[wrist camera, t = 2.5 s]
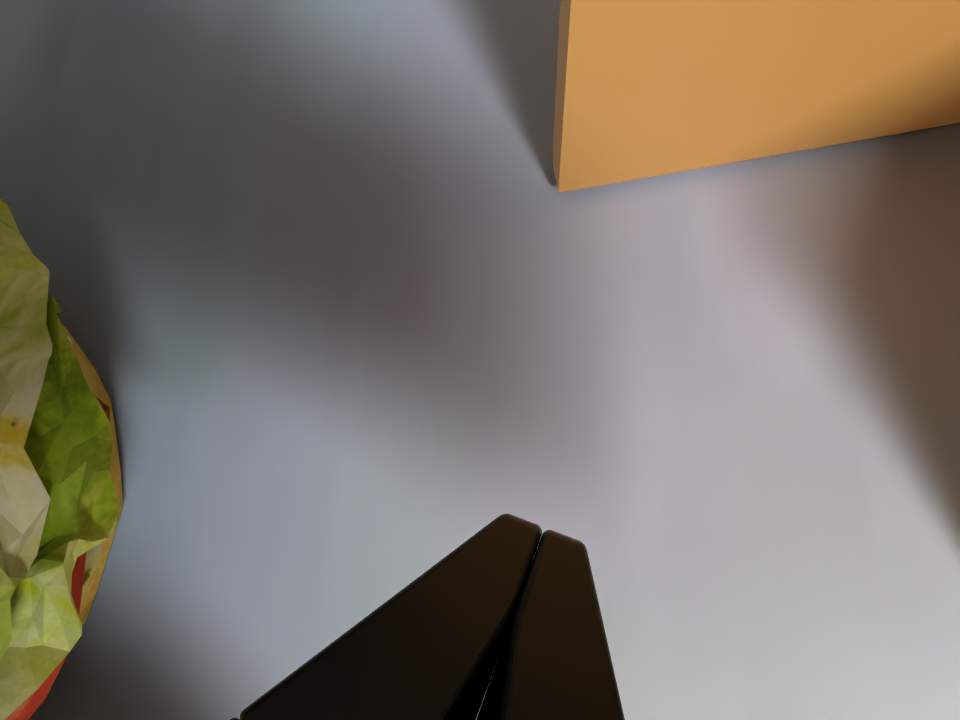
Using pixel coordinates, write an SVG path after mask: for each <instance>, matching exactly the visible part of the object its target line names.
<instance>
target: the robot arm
mask: <svg viewBox="0 0 960 720" xmlns="http://www.w3.org/2000/svg"><path fill="white" fill-rule="evenodd" d="M541 535H542V530H541V528H540V526H538V525H537V524H534V523H531V522H529V521H526V520H523V519H521V518H518V517H516V516H513V515H510V514H503V515H501V516H499V517H498V518H496V519H495V520H494V521H492V522H491V523H490V524H488V525H487V526H486V527H484V528H483V529H482V530H480V531H479V532H478V533H476V534H475V535H474V536H472V537H471V538H470V539H468V540H467V541H466V542H464V543H463V544H462V545H461V546H459V547H458V548H457V549H455V550H454V551H453V552H451V553H450V554H449V555H447V556H446V557H445V558H443V559H442V560H441V561H439V562H438V563H437V564H435V565H434V566H433V567H431V568H430V569H429V570H428V571H426V572H425V573H424V574H422V575H421V576H420V577H418V578H417V579H416V580H414V581H413V582H412V583H410V584H409V585H408V586H406V587H405V588H404V589H402V590H401V591H400V592H398V593H397V594H396V595H395V596H393V597H392V598H391V599H389V600H388V601H387V602H385V603H384V604H383V605H381V606H380V607H379V608H377V609H376V610H375V611H373V612H372V613H371V614H369V615H368V616H367V617H365V618H364V619H363V620H362V621H360V622H359V623H358V624H356V625H355V626H354V627H352V628H351V629H350V630H348V631H347V632H346V633H344V634H343V635H342V636H340V637H339V638H338V639H336V640H335V641H334V642H332V643H331V644H330V645H329V646H327V647H326V648H325V649H323V650H322V651H321V652H319V653H318V654H317V655H315V656H314V657H313V658H311V659H310V660H309V661H307V662H306V663H305V664H303V665H302V666H301V667H299V668H298V669H297V670H296V671H294V672H293V673H292V674H290V675H289V676H288V677H286V678H285V679H284V680H282V681H281V682H280V683H278V684H277V685H276V686H274V687H273V688H272V689H270V690H269V691H268V692H266V693H265V694H264V695H263V696H261V697H260V698H259V699H257V700H256V701H255V702H253V703H252V704H251V705H249V706H248V707H247V708H245V709H244V710H243V711H242V712H241V714H240V720H476V718H477V720H625V719H624V714H623V710H622V705H621V701H620V696H619V692H618V687H617V683H616V678H615V674H614V670H613V665H612V661H611V656H610V652H609V647H608V643H607V638H606V634H605V629H604V625H603V620H602V616H601V611H600V607H599V602H598V598H597V594H596V589H595V585H594V580H593V576H592V571H591V567H590V562H589V558H588V553H587V550H586V547H585V545H584V544H583V543H582V542H580V541H578V540H576V539H573V538H571V537H568V536H565V535H563V534H560V533H557V532H555V531H552V530H547V531H545V532H544V533H543V535H542V537H541ZM540 538H541V539H540ZM539 541H540V542H539ZM538 544H539V545H538ZM537 547H538V548H537ZM534 555H535V556H534ZM533 558H534V559H533ZM497 659H498V660H497ZM492 673H493V674H492ZM491 676H492V677H491ZM490 679H491V680H490ZM488 684H489V685H488ZM487 687H488V688H487ZM486 690H487V691H486ZM485 693H486V694H485ZM484 696H485V697H484ZM483 698H484V700H483ZM482 701H483V702H482ZM481 704H482V705H481ZM480 707H481V708H480ZM479 710H480V711H479ZM478 712H479V714H478ZM477 715H478V717H477ZM230 720H239V719H238V718H232V719H230Z"/></svg>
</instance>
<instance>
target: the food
mask: <svg viewBox="0 0 960 720" xmlns="http://www.w3.org/2000/svg"><path fill="white" fill-rule="evenodd" d="M49 278H50V272H49V270H48V268H47V267H46V266H45V265H44V264H43V263H42V262H41V261H40V260H39V259H38V258H37V257H36V256H35V255H34V254H33V253H32V252H31V250H30V248H29V247H28V245H27V243H26V242H25V240H24V239H23V237H22V235H21V233H20V231H19V229H18V227H17V224H16V222H15V220H14V218H13V215H12V213H11V211H10V209H9V206H8V205H7V204H6V203H5V202H4V201H3V200H2V199H1V198H0V720H29V718H30V717H31V716H32V715H33V713H34V712H35V711H36V710H37V708H38V707H39V706H40V705H41V703H42V702H43V701H44V700H45V698H46V697H47V695H48V693H49V691H50V689H51V687H52V685H53V683H54V681H55V679H56V677H57V675H58V673H59V671H60V669H61V667H62V665H63V663H64V661H65V659H66V657H67V655H68V653H69V652H70V651H71V649H72V648H73V646H74V645H75V644H76V642H77V641H78V639H79V638H80V637H81V635H82V626H83V625H84V623H85V622H86V621H87V618H88V615H89V612H90V609H91V607H92V604H93V601H94V598H95V595H96V593H97V590H98V586H99V583H100V580H101V577H102V573H103V570H104V567H105V564H106V560H107V557H108V554H109V551H110V547H111V544H112V541H113V538H114V535H115V531H116V528H117V525H118V522H119V518H120V515H121V512H122V509H123V497H122V482H121V470H120V462H119V454H118V447H117V439H116V431H115V424H114V416H113V410H112V404H111V399H110V397H109V396H108V394H107V392H106V390H105V388H104V386H103V384H102V382H101V380H100V378H99V376H98V374H97V372H96V370H95V368H94V367H93V365H92V364H91V362H90V361H89V360H88V358H87V357H86V355H85V354H84V352H83V351H82V350H81V348H80V347H79V345H78V344H77V343H76V341H75V340H74V338H73V337H72V336H71V334H70V333H69V331H68V330H67V329H66V328H65V327H64V326H63V325H62V324H61V322H60V320H59V318H58V315H57V313H61V312H62V311H61V307H60V304H59V303H58V302H57V301H56V300H55V299H54V298H53V297H52V296H50V298H48V287H49Z"/></svg>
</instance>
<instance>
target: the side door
mask: <svg viewBox="0 0 960 720" xmlns="http://www.w3.org/2000/svg"><path fill="white" fill-rule="evenodd" d="M955 123H960V0H560V12H559V34H558V56H557V77H556V99H555V120H554V142H553V163H552V164H553V169H554V173H555V178H556V183H557V188H558V193H560V192H566V191H572V190H577V189H583V188H589V187H595V186H600V185H606V184H612V183H617V182H623V181H629V180H635V179H640V178H646V177H652V176H658V175H663V174H669V173H675V172H680V171H686V170H692V169H698V168H703V167H709V166H715V165H721V164H726V163H732V162H738V161H743V160H749V159H755V158H761V157H766V156H772V155H778V154H784V153H789V152H795V151H801V150H806V149H812V148H818V147H824V146H829V145H835V144H841V143H847V142H852V141H858V140H864V139H869V138H875V137H881V136H887V135H892V134H898V133H904V132H910V131H915V130H921V129H927V128H932V127H938V126H944V125H950V124H955Z"/></svg>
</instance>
